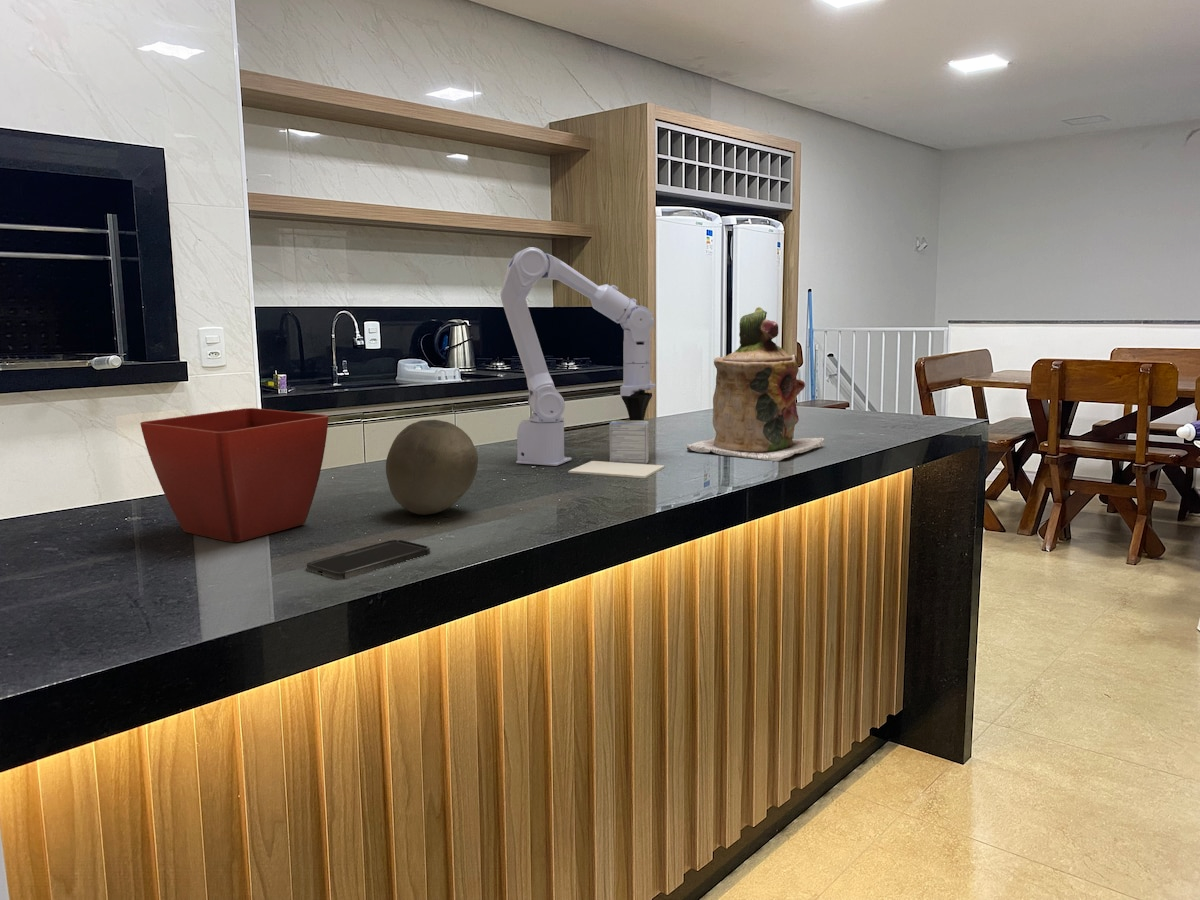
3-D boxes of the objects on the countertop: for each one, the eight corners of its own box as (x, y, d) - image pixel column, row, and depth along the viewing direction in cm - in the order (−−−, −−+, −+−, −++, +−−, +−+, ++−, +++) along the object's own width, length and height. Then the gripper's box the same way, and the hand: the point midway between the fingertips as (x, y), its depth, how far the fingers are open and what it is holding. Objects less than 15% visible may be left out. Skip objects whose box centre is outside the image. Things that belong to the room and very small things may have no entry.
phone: (433, 547, 121) (340, 574, 110) (433, 555, 121) (340, 583, 110) (395, 538, 126) (302, 563, 114) (395, 546, 126) (302, 571, 115)
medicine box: (649, 460, 190) (649, 420, 189) (647, 464, 186) (647, 423, 185) (612, 460, 192) (611, 419, 190) (609, 464, 187) (609, 422, 186)
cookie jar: (681, 452, 201) (682, 307, 196) (730, 438, 221) (733, 306, 216) (784, 463, 187) (788, 307, 182) (827, 447, 207) (832, 306, 202)
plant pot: (229, 553, 122) (219, 430, 119) (146, 535, 132) (136, 421, 129) (338, 523, 138) (332, 414, 135) (257, 509, 148) (250, 407, 145)
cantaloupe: (402, 528, 135) (397, 429, 132) (379, 509, 147) (374, 418, 145) (490, 517, 141) (488, 422, 139) (461, 500, 154) (458, 413, 151)
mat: (568, 472, 178) (568, 470, 177) (592, 462, 188) (592, 460, 188) (644, 478, 171) (644, 476, 171) (664, 467, 182) (664, 465, 182)
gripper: (643, 365, 182) (643, 432, 184) (665, 361, 195) (665, 423, 197) (610, 364, 184) (611, 430, 187) (635, 360, 198) (635, 421, 200)
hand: (636, 426), depth 192 cm, fingers closed
